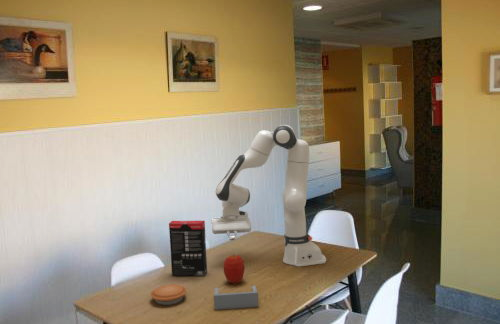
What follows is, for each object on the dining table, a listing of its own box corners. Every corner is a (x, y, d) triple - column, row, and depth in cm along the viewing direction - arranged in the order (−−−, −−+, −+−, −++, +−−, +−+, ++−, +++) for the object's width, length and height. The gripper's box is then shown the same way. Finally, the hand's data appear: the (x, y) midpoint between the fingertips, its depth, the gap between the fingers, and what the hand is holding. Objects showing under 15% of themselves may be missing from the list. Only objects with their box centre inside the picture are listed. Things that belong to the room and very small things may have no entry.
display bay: (255, 291, 206) (255, 278, 205) (258, 306, 191) (257, 292, 190) (215, 294, 205) (214, 281, 204) (214, 309, 190) (213, 295, 189)
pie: (171, 290, 213) (170, 279, 212) (194, 297, 203) (193, 286, 203) (143, 301, 201) (142, 290, 201) (167, 310, 191) (166, 299, 191)
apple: (235, 276, 226) (234, 248, 224) (250, 281, 219) (248, 252, 217) (219, 282, 219) (217, 254, 217) (234, 288, 211) (232, 258, 210)
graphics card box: (208, 271, 234) (205, 219, 231) (205, 276, 227) (202, 222, 224) (175, 272, 236) (171, 219, 232) (171, 277, 229) (167, 223, 225)
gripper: (211, 214, 242) (211, 237, 233) (250, 212, 243) (252, 235, 234) (211, 220, 247) (212, 243, 238) (250, 218, 248) (251, 241, 239)
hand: (232, 239), depth 236 cm, fingers closed
